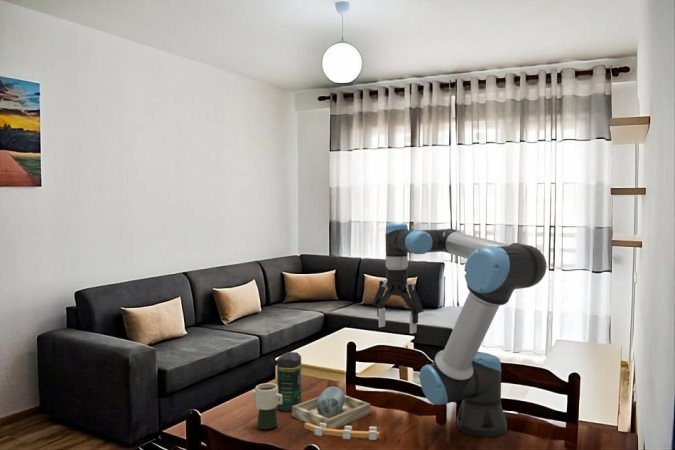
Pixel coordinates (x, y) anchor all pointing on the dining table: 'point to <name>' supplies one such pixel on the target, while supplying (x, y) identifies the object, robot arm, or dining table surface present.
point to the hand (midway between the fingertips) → (397, 329)
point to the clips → (346, 431)
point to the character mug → (267, 404)
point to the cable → (339, 432)
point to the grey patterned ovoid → (330, 402)
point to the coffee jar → (289, 380)
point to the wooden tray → (347, 414)
